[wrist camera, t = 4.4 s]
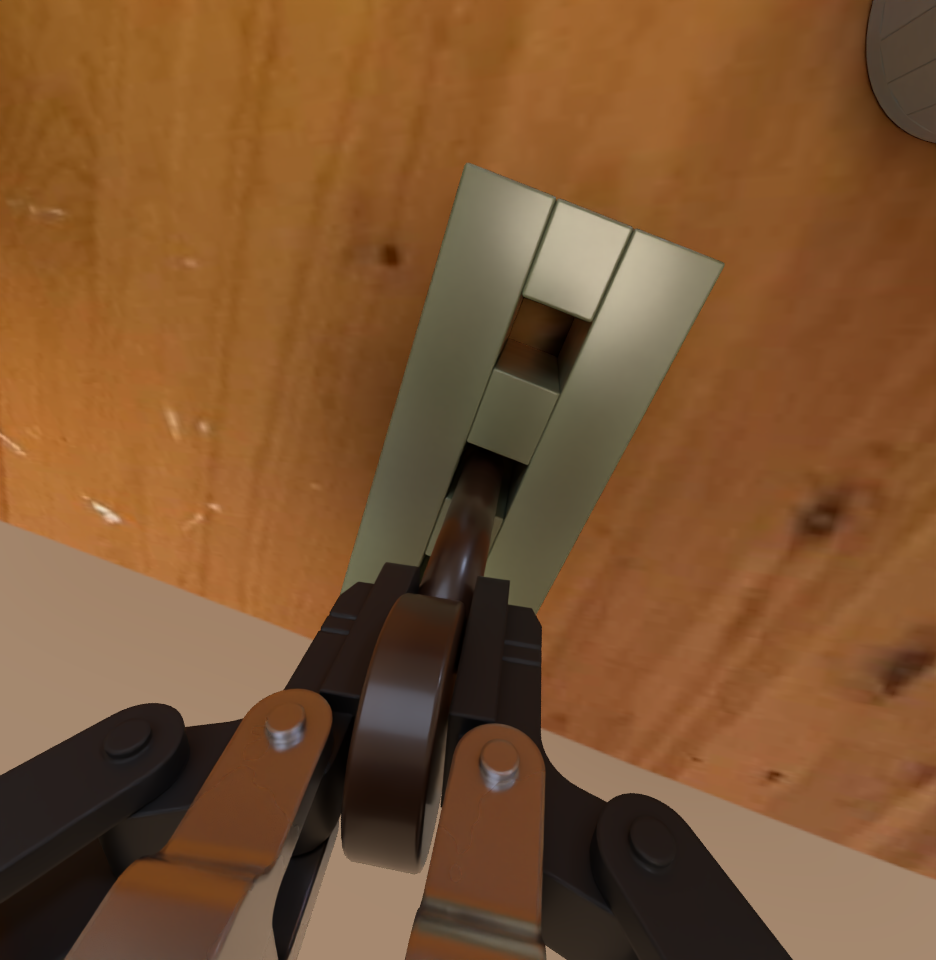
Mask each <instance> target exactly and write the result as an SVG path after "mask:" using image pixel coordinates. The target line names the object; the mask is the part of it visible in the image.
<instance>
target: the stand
mask: <svg viewBox="0 0 936 960" xmlns="http://www.w3.org/2000/svg"><path fill="white" fill-rule="evenodd" d="M724 265H725V264H724V263H723V262H721V261H719V260H716V259H714V258H711V257H709V256H706V255H703V254H701V253H698V252H696V251H693V250H691V249H688V248H686V247H683V246H680V245H678V244H675V243H673V242H670V241H668V240H665V239H663V238H660V237H657V236H655V235H652V234H650V233H647V232H645V231H642V230H640V229H633V228H632V227H631V226H629V225H627V224H624V223H622V222H619V221H617V220H614V219H611V218H609V217H606V216H604V215H601V214H599V213H596V212H594V211H591V210H588V209H586V208H583V207H581V206H578V205H576V204H573V203H571V202H568V201H565V200H563V199H557V201H556V198H555V197H554V196H553V195H550V194H548V193H545V192H543V191H540V190H537V189H535V188H532V187H530V186H527V185H525V184H522V183H520V182H517V181H514V180H512V179H509V178H507V177H504V176H502V175H499V174H497V173H494V172H492V171H489V170H486V169H484V168H481V167H479V166H476V165H474V164H471V163H466V164H465V165H464V169H463V172H462V176H461V179H460V183H459V186H458V189H457V193H456V196H455V200H454V203H453V207H452V210H451V214H450V217H449V220H448V224H447V227H446V231H445V234H444V238H443V241H442V245H441V248H440V252H439V255H438V258H437V262H436V265H435V269H434V272H433V276H432V279H431V283H430V286H429V289H428V293H427V296H426V300H425V303H424V307H423V310H422V314H421V317H420V320H419V324H418V327H417V331H416V334H415V338H414V341H413V345H412V348H411V351H410V355H409V358H408V362H407V365H406V369H405V372H404V376H403V379H402V382H401V386H400V389H399V393H398V396H397V400H396V403H395V407H394V410H393V413H392V417H391V420H390V424H389V427H388V431H387V434H386V438H385V441H384V445H383V448H382V451H381V455H380V458H379V462H378V465H377V469H376V472H375V476H374V479H373V482H372V486H371V489H370V493H369V496H368V500H367V503H366V507H365V510H364V513H363V517H362V520H361V524H360V527H359V531H358V534H357V538H356V541H355V544H354V548H353V551H352V555H351V558H350V562H349V565H348V569H347V572H346V575H345V579H344V582H343V586H342V589H341V593H340V595H341V594H342V593H343V592H345V591H346V590H347V589H349V588H350V587H351V586H353V585H354V584H355V583H357V582H358V581H359V582H365V583H372V584H374V583H375V581H376V579H377V577H378V575H379V573H380V571H381V569H382V567H383V565H384V564H385V563H386V562H390V563H396V564H403V565H410V566H417V567H419V569H420V583H421V580H422V578H423V575H424V572H425V570H426V567H427V564H428V562H429V559H430V556H431V554H432V551H433V548H434V546H435V543H436V540H437V538H438V535H439V532H440V529H441V527H442V524H443V521H444V519H445V516H446V513H447V511H448V508H449V505H450V503H451V500H452V497H453V495H454V492H455V489H456V487H457V484H458V481H459V479H460V476H461V473H462V470H463V468H464V465H465V462H466V460H467V457H468V456H469V454H470V453H471V452H472V451H473V450H475V449H476V448H479V447H482V448H484V449H487V450H490V451H492V452H495V453H497V454H500V455H501V456H502V458H503V461H504V471H503V476H502V481H501V487H500V492H499V497H498V503H497V508H496V514H495V519H494V524H493V530H492V535H491V540H490V546H489V551H488V556H487V562H486V567H485V573H484V577H490V578H497V579H504V580H510V588H509V598H508V604H509V605H515V606H522V607H528V608H532V609H533V611H534V613H535V615H536V614H537V612H538V610H539V609H540V607H541V605H542V603H543V601H544V599H545V597H546V596H547V594H548V592H549V590H550V588H551V586H552V584H553V583H554V581H555V579H556V577H557V575H558V573H559V571H560V570H561V568H562V566H563V564H564V562H565V560H566V559H567V557H568V555H569V553H570V551H571V549H572V547H573V546H574V544H575V542H576V540H577V538H578V536H579V534H580V533H581V531H582V529H583V527H584V525H585V523H586V521H587V520H588V518H589V516H590V514H591V512H592V510H593V509H594V507H595V505H596V503H597V501H598V499H599V497H600V496H601V494H602V492H603V490H604V488H605V486H606V484H607V483H608V481H609V479H610V477H611V475H612V473H613V471H614V470H615V468H616V466H617V464H618V462H619V460H620V459H621V457H622V455H623V453H624V451H625V449H626V447H627V446H628V444H629V442H630V440H631V438H632V436H633V434H634V433H635V431H636V429H637V427H638V425H639V423H640V421H641V420H642V418H643V416H644V414H645V412H646V410H647V409H648V407H649V405H650V403H651V401H652V399H653V397H654V396H655V394H656V392H657V390H658V388H659V386H660V384H661V383H662V381H663V379H664V377H665V375H666V373H667V371H668V370H669V368H670V366H671V364H672V362H673V360H674V358H675V357H676V355H677V353H678V351H679V349H680V347H681V346H682V344H683V342H684V340H685V338H686V336H687V334H688V333H689V331H690V329H691V327H692V325H693V323H694V321H695V320H696V318H697V316H698V314H699V312H700V310H701V308H702V307H703V305H704V303H705V301H706V299H707V297H708V296H709V294H710V292H711V290H712V288H713V286H714V284H715V283H716V281H717V279H718V277H719V275H720V273H721V271H722V270H723V268H724ZM523 297H525V298H528V299H530V300H533V301H536V302H538V303H541V304H543V305H546V306H548V307H551V308H554V309H556V310H559V311H561V312H564V313H566V314H569V315H572V316H574V317H575V318H574V320H573V323H572V325H571V327H570V330H569V332H568V334H567V337H566V339H565V341H564V344H563V346H562V348H561V351H560V353H559V355H558V358H557V357H556V356H553V355H551V354H548V353H546V352H543V351H540V350H538V349H535V348H533V347H530V346H527V345H525V344H522V343H520V342H517V341H515V340H512V339H508V337H509V334H510V331H511V329H512V326H513V323H514V321H515V318H516V316H517V313H518V310H519V308H520V305H521V302H522V300H523Z"/></svg>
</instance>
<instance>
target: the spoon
mask: <svg viewBox="0 0 936 960" xmlns="http://www.w3.org/2000/svg"><path fill="white" fill-rule="evenodd" d="M503 471H504V461H503V458H502V456H501V455H500V454H497V453H495V452H492V451H490V450H487V449H484V448H482V447H479V448H476V449H475V450H473V451H472V452H471V453H470V454H469V456H468V457H467V460H466V462H465V465H464V468H463V470H462V473H461V476H460V479H459V481H458V484H457V487H456V489H455V492H454V495H453V497H452V500H451V503H450V505H449V508H448V511H447V513H446V516H445V519H444V521H443V524H442V527H441V529H440V532H439V535H438V538H437V540H436V543H435V546H434V548H433V551H432V554H431V556H430V559H429V562H428V564H427V567H426V570H425V572H424V575H423V578H422V580H421V583H420V586H419V590H418V593H417V594H413V593H406V594H403V595H401V596H400V597H399V598H398V599H397V601H396V602H395V603H394V605H393V607H392V609H391V610H390V612H389V614H388V616H387V618H386V620H385V622H384V625H383V627H382V630H381V632H380V635H379V637H378V640H377V643H376V645H375V648H374V651H373V654H372V657H371V661H370V664H369V667H368V670H367V674H366V677H365V681H364V685H363V688H362V692H361V696H360V700H359V704H358V708H357V713H356V717H355V722H354V726H353V731H352V736H351V742H350V747H349V753H348V759H347V765H346V771H345V779H344V786H343V797H342V810H341V839H342V848H343V851H344V854H345V856H346V857H347V858H348V859H349V860H351V861H353V862H358V863H362V864H368V865H372V866H377V867H382V868H386V869H392V870H396V871H401V872H406V873H411V874H417V873H420V872H421V870H422V869H423V867H424V865H425V862H426V860H427V856H428V853H429V849H430V845H431V841H432V837H433V832H434V828H435V823H436V818H437V814H438V808H439V803H440V798H441V793H442V784H443V773H444V761H445V749H446V738H447V726H448V714H449V709H450V704H451V699H452V695H453V690H454V685H455V680H456V675H457V671H458V666H459V661H460V656H461V652H462V647H463V642H464V637H465V632H466V628H467V623H468V618H469V613H470V608H471V604H472V599H473V594H474V589H475V584H476V580H477V576H484V573H485V567H486V562H487V556H488V551H489V546H490V540H491V535H492V530H493V524H494V519H495V514H496V508H497V503H498V497H499V492H500V487H501V481H502V476H503Z"/></svg>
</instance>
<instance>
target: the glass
mask: <svg viewBox="0 0 936 960" xmlns="http://www.w3.org/2000/svg"><path fill="white" fill-rule="evenodd" d="M866 59H867V66H868V74H869V78H870V81H871V85H872V89H873V91H874V94H875V96H876V98H877V100H878V102H879V104H880V106H881V107H882V108H883V110H884V111H885V113H886V114H887V116H888V117H889V118H890V119H891V120H892V121H893V122H894V123H895V124H896V125H897V126H899V127H900V128H902V129H903V130H905V131H906V132H908V133H909V134H911V135H913V136H915V137H918V138H920V139H922V140H925V141H929V142H934V143H936V0H873V4H872V8H871V12H870V17H869V22H868V31H867V39H866Z"/></svg>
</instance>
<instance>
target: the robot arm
mask: <svg viewBox="0 0 936 960" xmlns="http://www.w3.org/2000/svg"><path fill="white" fill-rule="evenodd" d="M419 586H420V569H419V567H417V566H410V565H403V564H396V563H390V562H386V563H385V564H384V565H383V567H382V569H381V571H380V573H379V575H378V577H377V579H376V581H375V583H374V584H372V583H365V582H359V581H358V582H357V583H355V584H354V585H353V586H351V587H350V588H349V589H347V590H346V591H345V592H343V593H342V594H341V595H340V596H339V598H338V599H337V601H336V603H335V604H334V606H333V608H332V609H331V611H330V614H329V616H327V618H326V620H325V621H324V623H323V625H322V626H321V630H320V631H318V633H317V635H316V636H315V638H314V640H313V642H312V643H311V645H310V647H309V648H308V650H307V652H306V653H305V655H304V657H303V658H302V660H301V662H300V664H299V665H298V667H297V669H296V670H295V672H294V674H293V675H292V677H291V679H290V681H289V682H288V684H287V685H286V687H285V689H284V690H283V691H280V692H277V693H274V694H272V695H269V696H268V697H266V698H264V699H262V700H261V701H259V703H257V704H256V705H254V706H253V707H252V708H251V709H250V711H249V712H248V713H247V714H246V716H245V717H244V718H243V719H240V720H236V721H230V722H224V723H216V724H207V725H198V726H190V727H185V725H184V721H183V718H182V716H181V714H180V713H179V712H178V711H177V710H176V709H175V708H173V707H171V706H168V705H165V704H159V703H148V704H141V705H137V706H133V707H130V708H127V709H124V710H122V711H120V712H118V713H116V714H113V715H111V716H110V717H108V718H106V719H104V720H102V721H100V722H99V723H97V724H95V725H93V726H91V727H89V728H87V729H86V730H84V731H82V732H80V733H78V734H76V735H74V736H73V737H71V738H69V739H67V740H65V741H63V742H61V743H60V744H58V745H56V746H54V747H52V748H50V749H49V750H47V751H45V752H43V753H41V754H39V755H37V756H36V757H34V758H32V759H30V760H28V761H27V762H24V763H23V764H21V765H19V766H17V767H15V768H13V769H11V770H10V771H8V772H6V773H4V774H2V775H0V960H297V957H298V954H299V950H300V947H301V945H302V941H303V939H304V935H305V932H306V929H307V926H308V923H309V920H310V917H311V914H312V911H313V908H314V905H315V902H316V899H317V896H318V893H319V889H320V886H321V883H322V880H323V877H324V874H325V871H326V868H327V865H328V862H329V858H330V856H331V852H332V850H333V847H334V844H335V840H336V837H337V833H338V827H339V817H340V815H341V810H342V797H343V786H344V779H345V771H346V765H347V759H348V753H349V747H350V742H351V736H352V731H353V726H354V722H355V717H356V713H357V708H358V704H359V700H360V696H361V692H362V688H363V685H364V681H365V677H366V674H367V670H368V667H369V664H370V661H371V657H372V654H373V651H374V648H375V645H376V643H377V640H378V637H379V635H380V632H381V630H382V627H383V625H384V622H385V620H386V618H387V616H388V614H389V612H390V610H391V609H392V607H393V605H394V603H395V602H396V601H397V599H398V598H399V597H400V596H401V595H403V594H406V593H413V594H417V593H418V590H419ZM509 588H510V580H504V579H497V578H490V577H484V576H477V580H476V584H475V589H474V594H473V599H472V604H471V608H470V613H469V618H468V623H467V628H466V632H465V637H464V642H463V647H462V652H461V656H460V661H459V666H458V671H457V675H456V680H455V685H454V690H453V695H452V699H451V704H450V709H449V714H448V726H447V738H446V749H445V761H444V773H443V784H442V796H441V807H442V810H441V815H440V819H439V824H438V829H437V833H436V838H435V843H434V847H433V852H432V857H431V861H430V866H429V871H428V876H427V880H426V885H425V889H424V894H423V898H422V901H421V905H420V908H418V910H417V913H416V916H415V919H414V923H413V927H412V931H411V935H410V939H409V943H408V948H407V953H406V957H405V960H546V948H545V945H546V946H547V947H549V948H550V949H552V950H553V951H555V952H556V953H558V954H559V955H561V956H562V957H564V958H565V959H567V960H793V959H792V958H791V957H790V955H789V954H788V953H787V952H786V950H785V949H784V948H783V946H782V945H781V944H780V943H779V941H778V940H777V939H776V937H775V936H774V935H773V934H772V932H771V931H770V930H769V928H768V927H767V926H766V924H765V923H764V922H763V921H762V919H761V918H760V917H759V916H758V914H757V913H756V912H755V910H754V909H753V908H752V907H751V905H750V904H749V903H748V901H747V900H746V899H745V897H744V896H743V895H742V894H741V892H740V891H739V890H738V888H737V887H736V886H735V885H734V883H733V882H732V881H731V880H730V878H729V877H728V876H727V874H726V873H725V872H724V870H723V869H722V868H721V867H720V865H719V864H718V863H717V861H716V860H715V859H714V858H713V856H712V855H711V854H710V852H709V851H708V850H707V849H706V847H705V846H704V845H703V843H702V842H701V841H700V839H699V838H698V837H697V836H696V834H695V833H694V832H693V830H692V829H691V828H690V827H689V825H688V824H687V823H686V822H685V821H684V820H683V819H682V817H680V815H678V814H677V813H676V812H675V811H674V810H673V809H671V808H670V807H669V806H667V805H666V804H664V803H662V802H661V801H659V800H657V799H655V798H652V797H649V796H646V795H642V794H635V793H629V794H622V795H619V796H616V797H615V798H613V799H611V800H610V801H609V802H605V801H603V800H602V799H600V798H598V797H596V796H594V795H592V794H590V793H588V792H586V791H585V790H583V789H581V788H579V787H577V786H575V785H574V784H572V783H571V782H569V781H568V780H567V779H566V778H564V777H563V776H562V775H561V774H560V773H559V772H558V771H557V770H556V769H555V767H554V766H553V765H552V763H551V762H550V761H549V759H548V757H547V755H546V753H545V751H544V748H543V745H542V741H541V647H542V626H541V624H540V622H539V620H538V619H537V617H536V615H535V613H534V611H533V609H532V608H528V607H522V606H515V605H509V604H508V598H509Z"/></svg>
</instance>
